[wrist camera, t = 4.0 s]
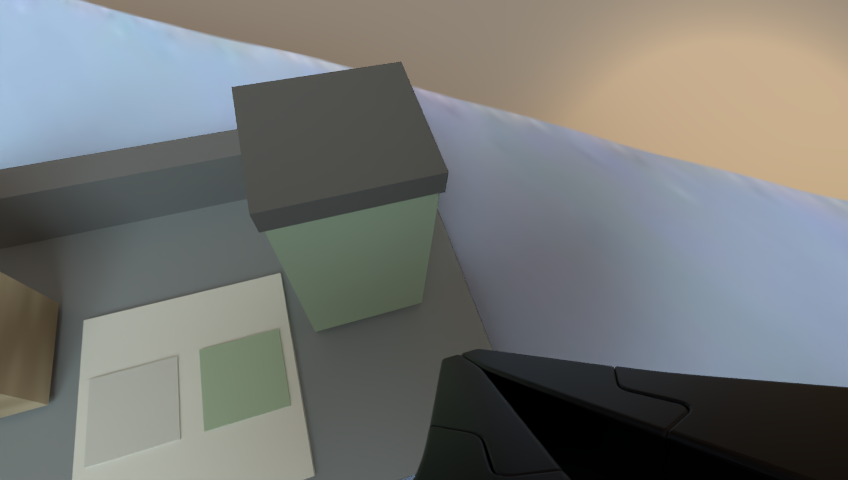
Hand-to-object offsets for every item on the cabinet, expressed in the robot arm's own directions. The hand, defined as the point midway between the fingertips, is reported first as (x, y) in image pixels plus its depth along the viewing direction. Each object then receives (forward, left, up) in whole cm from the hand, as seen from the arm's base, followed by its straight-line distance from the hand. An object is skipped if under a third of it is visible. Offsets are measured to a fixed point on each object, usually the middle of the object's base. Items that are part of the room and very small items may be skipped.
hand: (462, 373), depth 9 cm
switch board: (-3, +10, -9) cm, 14 cm away
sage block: (+3, +6, -8) cm, 10 cm away
